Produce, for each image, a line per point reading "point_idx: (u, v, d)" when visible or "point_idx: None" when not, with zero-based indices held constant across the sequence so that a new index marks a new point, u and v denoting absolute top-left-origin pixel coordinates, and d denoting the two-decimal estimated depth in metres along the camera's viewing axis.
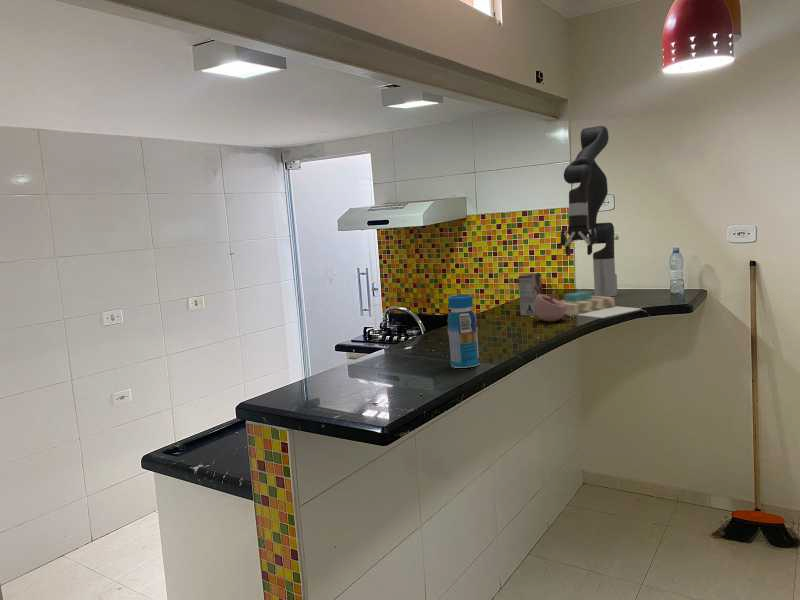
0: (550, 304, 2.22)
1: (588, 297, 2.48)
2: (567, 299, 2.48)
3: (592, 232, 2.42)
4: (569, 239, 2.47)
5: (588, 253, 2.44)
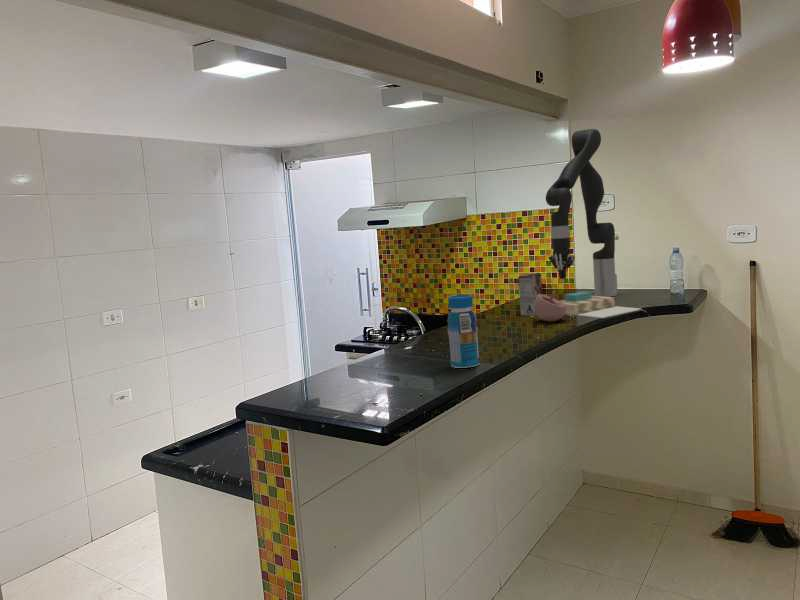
0: (550, 304, 2.22)
1: (588, 297, 2.48)
2: (567, 299, 2.48)
3: (568, 259, 2.49)
4: (557, 262, 2.54)
5: (561, 277, 2.54)
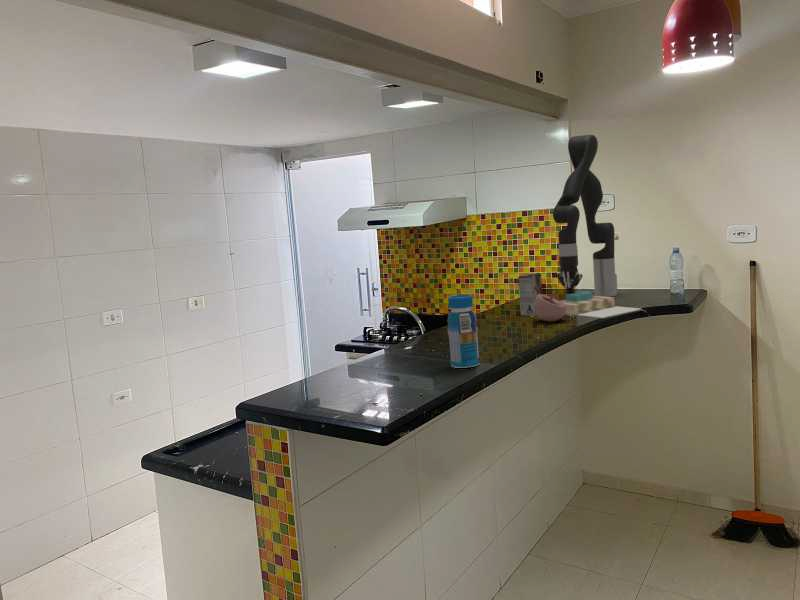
0: (550, 304, 2.22)
1: (589, 297, 2.48)
2: (568, 299, 2.48)
3: (575, 278, 2.47)
4: (564, 280, 2.52)
5: None
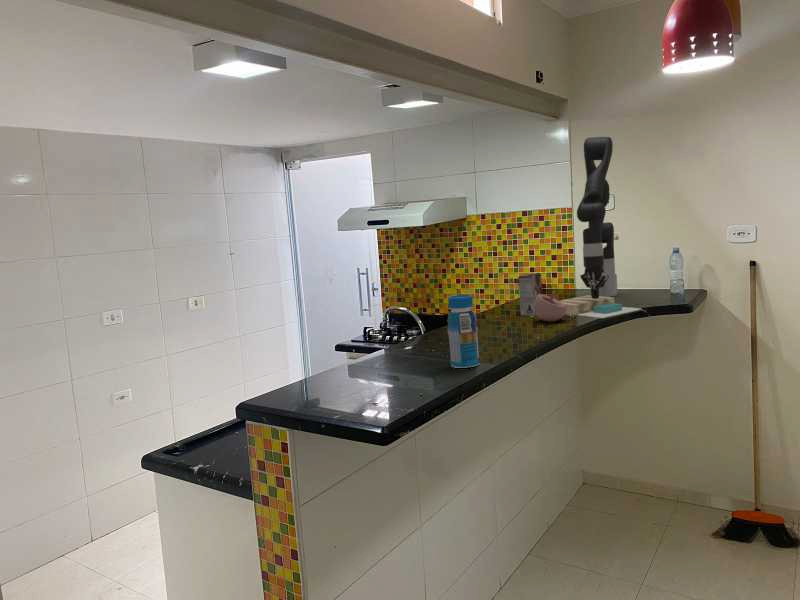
0: (550, 304, 2.22)
1: None
2: (602, 308, 2.33)
3: (601, 279, 2.35)
4: (589, 281, 2.40)
5: (594, 297, 2.40)
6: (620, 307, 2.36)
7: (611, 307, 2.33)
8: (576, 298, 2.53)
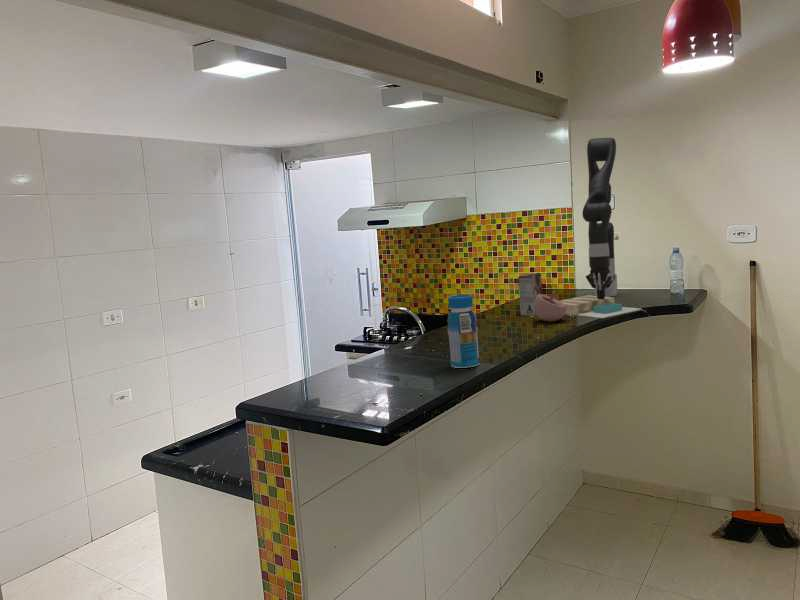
0: (550, 304, 2.22)
1: None
2: (602, 308, 2.33)
3: (607, 279, 2.33)
4: (595, 281, 2.38)
5: (600, 298, 2.38)
6: (620, 307, 2.36)
7: (611, 307, 2.33)
8: (576, 298, 2.53)
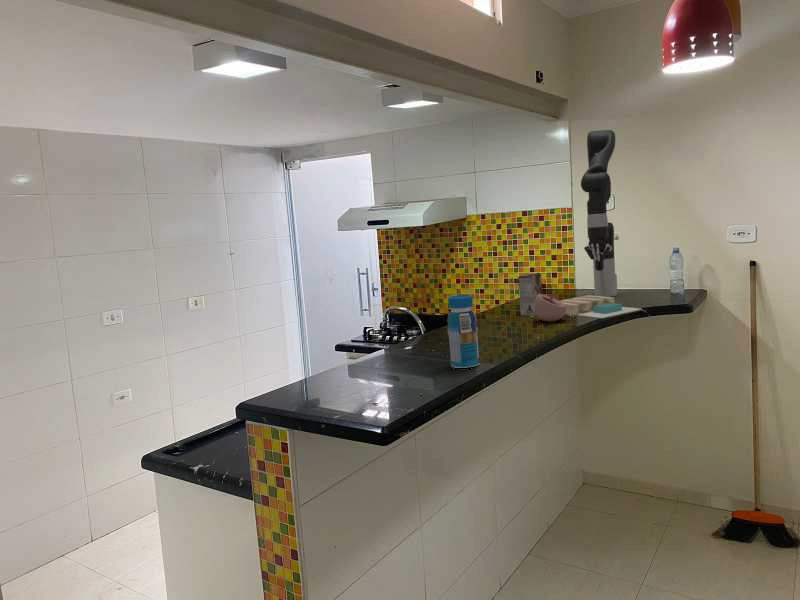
0: (550, 304, 2.22)
1: None
2: (602, 308, 2.33)
3: (606, 250, 2.32)
4: (593, 252, 2.37)
5: (598, 269, 2.37)
6: (620, 307, 2.36)
7: (611, 307, 2.33)
8: (576, 298, 2.53)
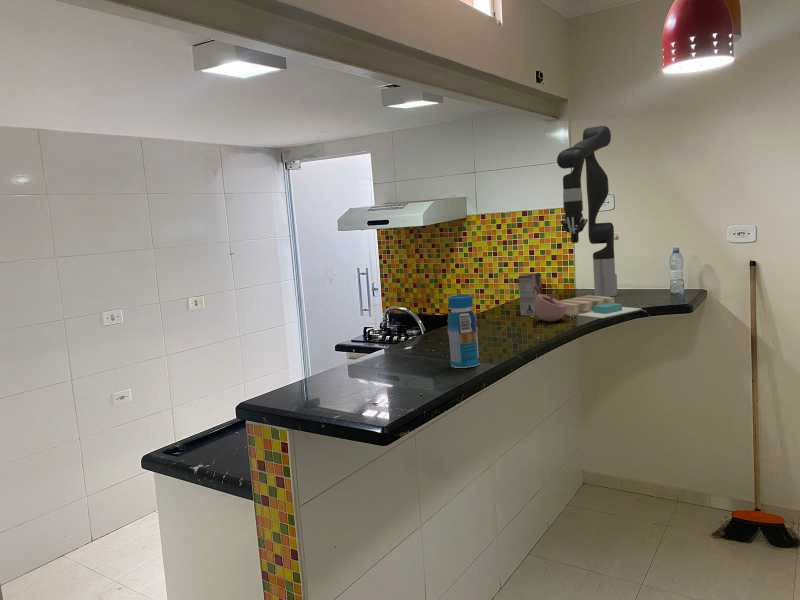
0: (550, 304, 2.22)
1: None
2: (602, 308, 2.33)
3: (580, 222, 2.45)
4: (569, 226, 2.50)
5: (573, 241, 2.50)
6: (620, 307, 2.36)
7: (611, 307, 2.33)
8: (576, 298, 2.53)
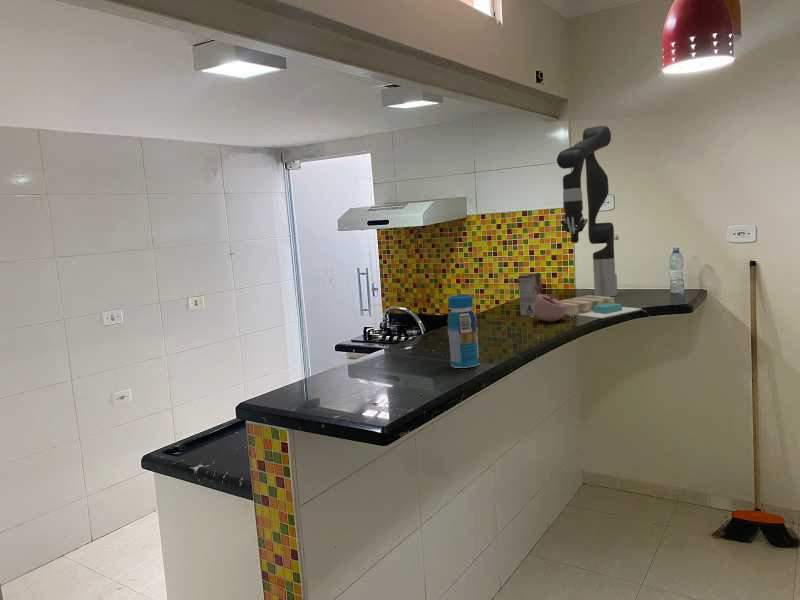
0: (550, 304, 2.22)
1: None
2: (602, 308, 2.33)
3: (580, 222, 2.45)
4: (569, 226, 2.50)
5: (573, 241, 2.50)
6: (620, 307, 2.36)
7: (611, 307, 2.33)
8: (576, 298, 2.53)
